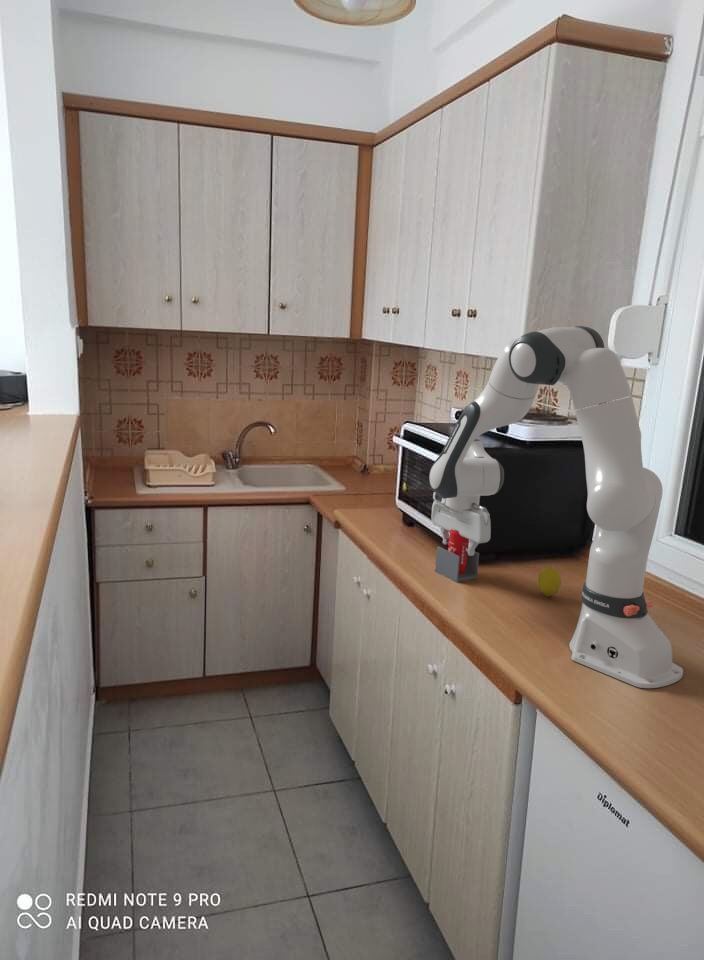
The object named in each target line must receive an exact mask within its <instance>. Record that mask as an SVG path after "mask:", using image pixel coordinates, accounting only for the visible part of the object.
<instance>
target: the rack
mask: <svg viewBox="0 0 704 960" xmlns="http://www.w3.org/2000/svg"><path fill="white" fill-rule="evenodd" d="M479 558H480V552H477V551H475V552H474V555H473V556H469V555H468V557H467V567H466V570H465V572H464V573H463V574H459V563H460V556H458V555H456V554H454V553H451V552H449V551H448V550H447V549H444V548H443V547H441V546H436V555H435V569H434V572H436V573H438V574H439V575H442V576H444V577H446V578H448V579H450V580H452V581H454V582H455V583H458V582H464V581H470V580H475V578H476V579H478V569H479V560H480V559H479Z"/></svg>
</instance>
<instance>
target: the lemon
mask: <svg viewBox="0 0 704 960" xmlns="http://www.w3.org/2000/svg"><path fill="white" fill-rule="evenodd" d="M561 579H562V578H561V574H560V572H559V570H557V568H555V567H553V566H552V565H550V566H548V567H547V566H546V567H545V568H543V569H542V570H541V571H540V572H539V575H538V578H537V586H538V589H539V591H540V592H541V593H543V594H544V595H545V596H546V597H550V596H552V595H555V594H557V593H558V592H559V590H560V588H561V582H562V580H561Z"/></svg>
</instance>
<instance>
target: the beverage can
mask: <svg viewBox="0 0 704 960" xmlns="http://www.w3.org/2000/svg"><path fill="white" fill-rule="evenodd" d="M469 546H470V543H469V539H467V538H465V537H463V536H461V535H460V534H459V531H458V530H456V529H452V528H451V530H450V531H449V545H448V550H447V551H449V552H451V553H454V554H456V555H458V556H460V563H459V574H463V573H464V572H465V570H466V567H467V557H468V555H467V554H466V548H469Z"/></svg>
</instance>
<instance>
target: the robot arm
mask: <svg viewBox="0 0 704 960" xmlns="http://www.w3.org/2000/svg"><path fill="white" fill-rule="evenodd" d="M558 382H559V383H562V384H563V385H565V386H566V387H567V388H568V390H569V392H570V395H571V399H572V404H573V408H574V413H575V417H576V421H577V424H578V425H577V426H578V429H579V432H580V433H579V434H580V437H581V442H582V445H583V454H584V464H585V465H584V466H585V467H584V468H585V480H586V489H587V497H586V498H587V499H586V500H587V501H586V511H587V514H588V517H589V518H590V520H591V521H592V522H593V523H594V525H595V526H597V527H596V530H595V531H596V532H595V534H594V536H593V540H592V542H591V545H590V548H589V554H588V555H589V556H588V562H587V569H586V570H587V571H586V578H585V582H584V583H583V584H582V591H581V599H580V600H581V603H582V604H581V609H580V613H579V618H578V621H577V625H576V628H575V631H574V633H573V635H572V638H571V640H570V642H569V644H568V645H569V649H570V651H571V653H572V654H571V660H572V661H574V662H576V663H578V664H581V665H583V666H586V667H587V668H591V670H592V669H593V670H595V671H598V672H600V673H601V674H605V675H607V676H610V677H612V678H614V679H616V680H619V681H622V682H623V683H627V684H629V685H631V686H634V687H637V688H640V689H657V688H663V687H666V686H669V685H672V684H675V683H676V682H679V681H680V680H681V679H682V678H683V676H684V669H683V668H682V667H681V666H679V665H678V664H676V663H674V661H673V647H672V643H671V642H670V640H669V638H667V636H666V635H665V633H663V631H662V630H661V629H660V628H659V627H658V625H657V623H656V622H655V621H654V620H653V619H652V618H651V617H650V615H649V614H648V613H649V611H648V609H650V608H652V607H654V605H653V604H654V601H649V602H648V601H647V602H646V596H645V594H644V591H643V590H644V582H645V576H646V570H647V563H648V558H649V553H650V550H651V545H652V542H653V538H654V534H655V529H656V526H657V521H658V517H659V512H660V507H661V502H662V498H663V491H664V489H663V484H662V482H661V479H660V477H659V476H658V475H657V474H656V473H655V472H654V471H652V470H651V469H648V468H646V467H644V465H643V456H642V452H643V451H642V432H641V428H640V424H639V419H638V415H637V412H636V408H635V404H634V403H635V402H634V400H633V396H632V392H631V388H630V385H629V382H628V379H627V376H626V373H625V371H624V369H623V365H622V364H621V362H620V360H619V358H618V356H617V355H616V353H615V352H614V351H613V350H611V349H609V348H606V347H605V343H604V340H603V338H602V336H601V335H600V333H599V332H598V331H596V330H595V329H594V328H591V327H589V326H583V325H574V326H566V327H560V326H559V327H557V326H556V327H555V326H554V327H550V328H544V329H541V330H538V331H530V332H527V333H525V334H523V335H521V336H518V338H516V339H511V340H510V341H509V342H507V343H506V344H505V346H503V348H502V350H501V352H500V353H499V356H498V357H497V359H496V361H495V363H494V365H493V368H492V370H491V373H490V375H489V378H488V381H487V384H486V386H485V387H484V389H483V390H482V392H481V393H480V394H479V395H478V396H477V397H476V398H475V399H474V400H473V401H472V402H470V403H469V404H467V405H466V406H465V407H464V409H463V410H462V412H461V414H460V416H459V417H458V419H457V422H456V423H455V425H454V427H453V429H452V431H451V433H450V434H449V437H448V439H447V441H446V442H445V445H444V447H443V449H442V451H441V452H440V454H439V456H437V458H436V459H435V461H434V462H433V464H432V465H431V467H430V471H429V475H428V479H429V480H428V482H429V486H430V488H431V489H432V491H433V494H432V499H433V503H432V505H431V518H430V519H431V522H432V524H433V525H434V526H437V527H439V528H440V534H441V535H442V544H443V545H444V546H445V545H446V546H449V537H450V530H451V528H452V529H456V530H458V531H459V534H460V535H461V536H463V537H465V538H467V539H469V546H468V548H466V554H467V555H469V556H473V555H474V552H476V551H475V549H476V548H477V547H478V546H479V544H485V543H488V542H489V541H490V540H491V533H492V531H491V529H492V526H491V525H492V524H491V517H490V516H491V515H490V513H489V510H488V509H487V507H485V506H482V505H480V499H481V497H482V496H486V497H487V496H491V495H496V494H498V492H499V491H500V490H501V488H502V486H503V485H504V480H505V470H504V468H503V466H502V464H501V463H500V461H499V460H498V459H496V458H493V457H491V455H489V454H488V453H487V452H486V450H485V448H484V444H483V443H484V442H483V441H482V440H479V439H477V438H478V437H479V436H481V435H483V434H485V433H487V432H490V431H492V430H495V429H497V428H502V427H507V426H509V425H512V424H515V423H517V422H519V421H521V420H522V419H523V418H524V417H525V416H526V415H527V414H528V412H529V411H530V409H531V408H532V405H533V403H534V400H535V398H536V395H537V392H538V390H539V386H540V385H545V386H554V385H556V383H558Z"/></svg>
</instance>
